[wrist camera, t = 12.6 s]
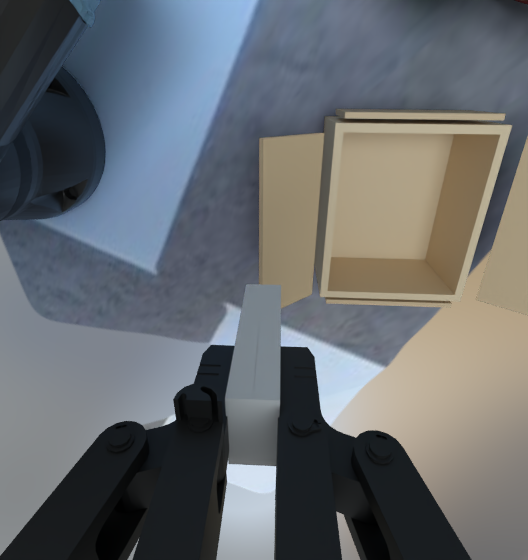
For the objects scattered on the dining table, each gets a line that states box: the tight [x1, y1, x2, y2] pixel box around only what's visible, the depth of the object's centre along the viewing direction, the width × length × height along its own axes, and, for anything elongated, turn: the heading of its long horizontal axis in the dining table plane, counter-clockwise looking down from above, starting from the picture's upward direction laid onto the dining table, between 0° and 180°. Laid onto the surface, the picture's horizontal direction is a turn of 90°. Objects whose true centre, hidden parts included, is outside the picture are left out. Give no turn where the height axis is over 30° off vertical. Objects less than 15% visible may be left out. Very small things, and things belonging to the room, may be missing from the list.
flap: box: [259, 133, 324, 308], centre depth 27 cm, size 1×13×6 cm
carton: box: [314, 109, 512, 307], centre depth 32 cm, size 12×15×8 cm
